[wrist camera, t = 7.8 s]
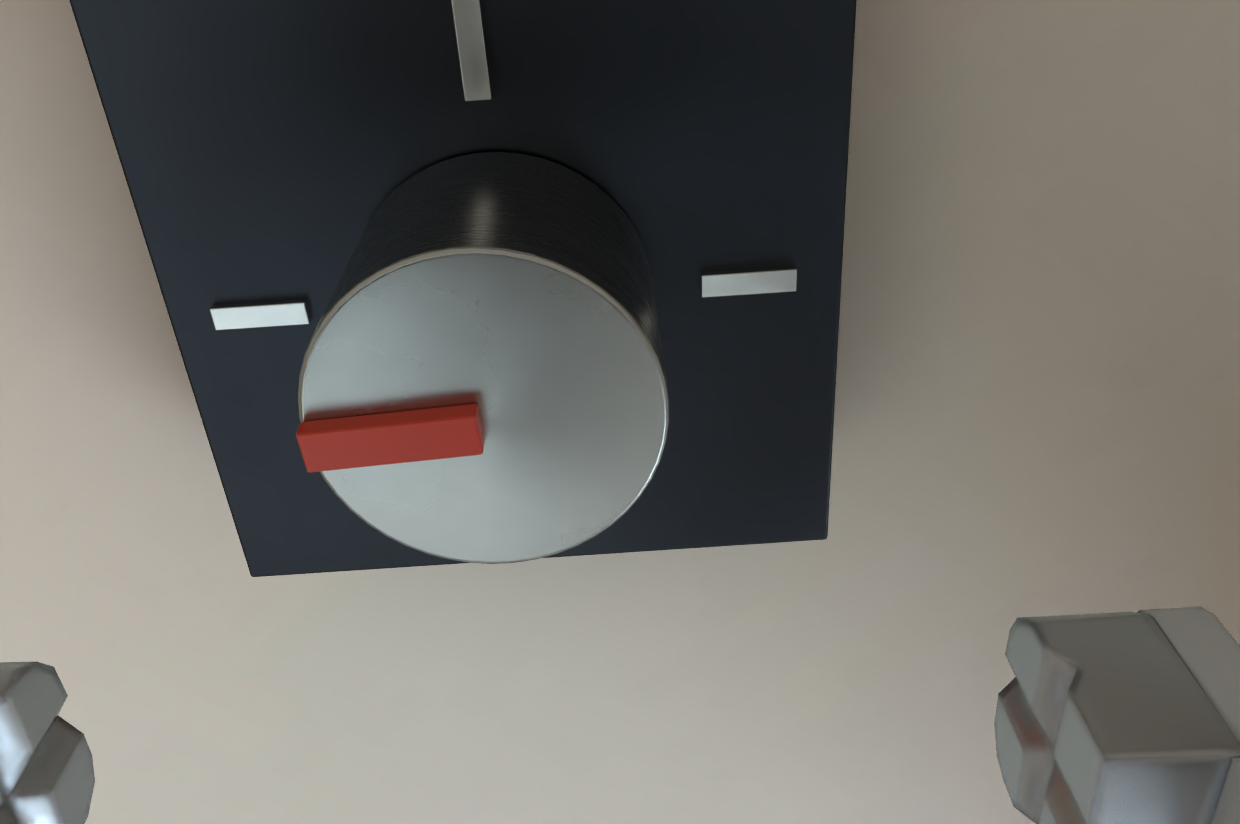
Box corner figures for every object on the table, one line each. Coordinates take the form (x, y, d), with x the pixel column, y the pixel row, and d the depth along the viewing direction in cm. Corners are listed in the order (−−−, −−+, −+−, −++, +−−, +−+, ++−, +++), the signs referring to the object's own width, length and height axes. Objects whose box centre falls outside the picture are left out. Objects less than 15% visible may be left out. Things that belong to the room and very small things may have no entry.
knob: (639, 133, 14) (655, 238, 11) (664, 408, 16) (684, 562, 13) (320, 169, 14) (241, 283, 11) (389, 437, 17) (342, 597, 13)
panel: (797, 445, 21) (829, 546, 18) (292, 479, 21) (248, 584, 18) (816, -123, 15) (866, -101, 13) (141, -75, 15) (47, -45, 13)
